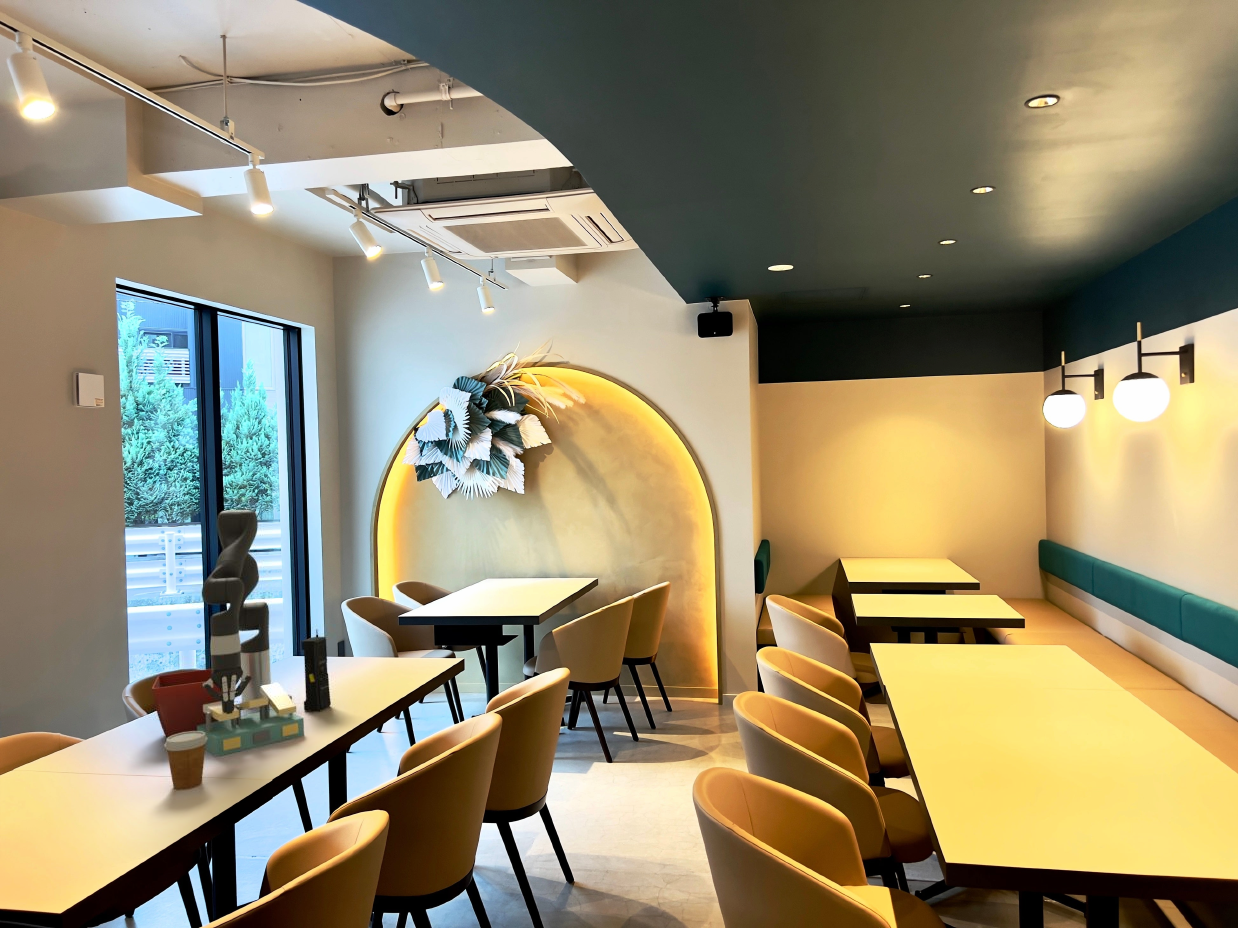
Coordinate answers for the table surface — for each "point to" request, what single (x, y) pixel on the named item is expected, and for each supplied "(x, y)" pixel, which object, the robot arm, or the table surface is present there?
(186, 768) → the disposable coffee cup
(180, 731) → the plant pot
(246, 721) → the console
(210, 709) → the rocker
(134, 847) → the table surface
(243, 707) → the rocker
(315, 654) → the portable radio
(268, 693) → the rocker
